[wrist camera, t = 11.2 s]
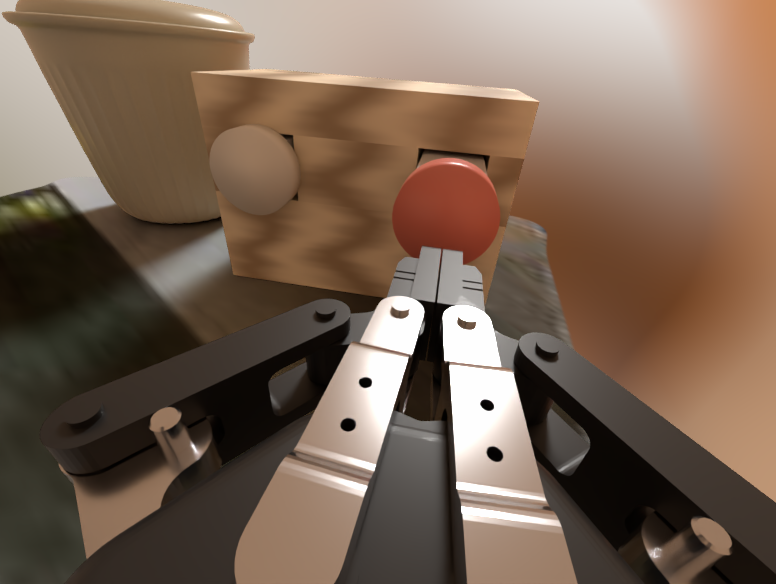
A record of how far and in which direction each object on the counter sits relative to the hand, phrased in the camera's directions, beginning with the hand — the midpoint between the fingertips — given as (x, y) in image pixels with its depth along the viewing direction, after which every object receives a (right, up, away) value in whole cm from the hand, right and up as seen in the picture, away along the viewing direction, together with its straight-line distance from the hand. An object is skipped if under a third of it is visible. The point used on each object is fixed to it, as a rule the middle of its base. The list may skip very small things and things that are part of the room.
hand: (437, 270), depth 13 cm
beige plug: (-10, +7, +13) cm, 18 cm away
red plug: (+2, +3, +9) cm, 10 cm away
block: (-4, +2, +18) cm, 19 cm away
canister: (-24, +9, +27) cm, 37 cm away
